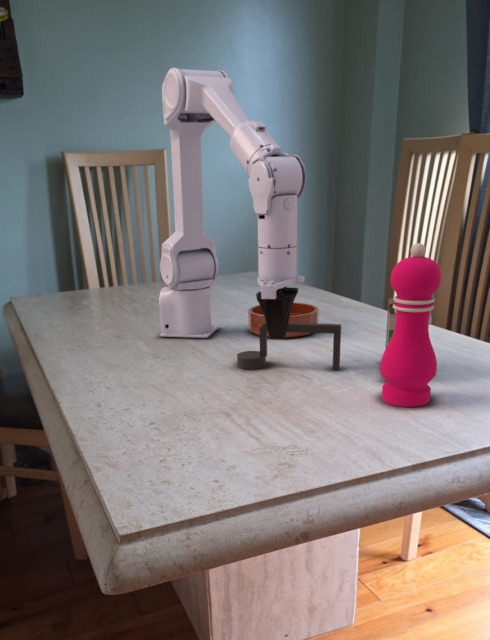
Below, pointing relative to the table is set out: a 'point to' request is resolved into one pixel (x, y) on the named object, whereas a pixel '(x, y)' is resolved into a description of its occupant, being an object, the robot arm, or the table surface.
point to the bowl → (297, 315)
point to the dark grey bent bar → (259, 357)
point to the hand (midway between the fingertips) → (277, 337)
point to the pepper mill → (411, 332)
